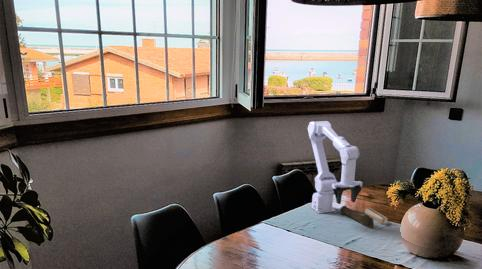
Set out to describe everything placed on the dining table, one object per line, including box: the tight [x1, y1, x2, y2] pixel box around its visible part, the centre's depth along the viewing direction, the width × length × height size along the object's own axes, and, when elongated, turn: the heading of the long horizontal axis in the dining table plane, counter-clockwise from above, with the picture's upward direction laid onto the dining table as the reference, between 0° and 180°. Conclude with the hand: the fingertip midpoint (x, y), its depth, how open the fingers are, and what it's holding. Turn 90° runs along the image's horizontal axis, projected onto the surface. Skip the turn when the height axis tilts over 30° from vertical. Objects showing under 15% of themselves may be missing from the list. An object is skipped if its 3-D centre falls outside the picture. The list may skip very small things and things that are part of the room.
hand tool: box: [339, 205, 375, 229], centre depth 164 cm, size 19×4×5 cm, turn 25°
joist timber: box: [364, 207, 388, 225], centre depth 167 cm, size 3×12×3 cm, turn 17°
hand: (345, 202), depth 161 cm, fingers open, 7 cm apart
